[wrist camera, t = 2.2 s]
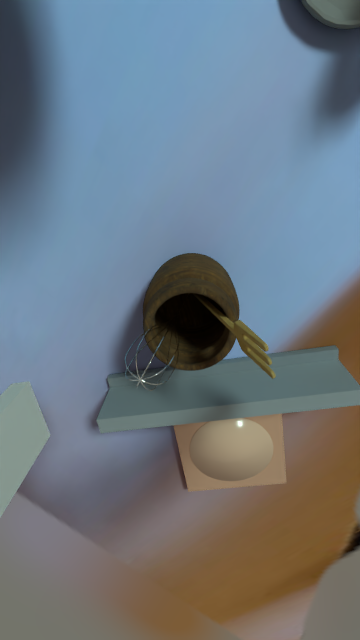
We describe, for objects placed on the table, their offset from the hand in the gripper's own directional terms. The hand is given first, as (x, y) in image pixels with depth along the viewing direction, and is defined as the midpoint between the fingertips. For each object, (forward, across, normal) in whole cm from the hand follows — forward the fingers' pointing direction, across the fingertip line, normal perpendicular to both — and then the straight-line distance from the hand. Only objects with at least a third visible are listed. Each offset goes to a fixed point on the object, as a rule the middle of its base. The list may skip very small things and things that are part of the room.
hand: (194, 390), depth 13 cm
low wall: (+12, +1, -7) cm, 14 cm away
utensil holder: (+12, 0, +1) cm, 12 cm away
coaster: (+12, +1, -14) cm, 19 cm away
